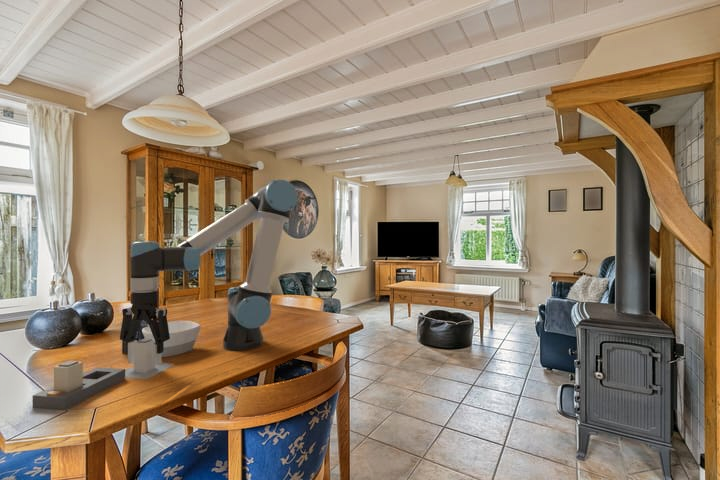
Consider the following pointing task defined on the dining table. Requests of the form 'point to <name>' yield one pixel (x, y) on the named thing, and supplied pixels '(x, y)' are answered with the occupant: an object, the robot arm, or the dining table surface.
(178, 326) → the bowl
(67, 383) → the twin plug
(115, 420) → the dining table surface
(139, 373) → the tray
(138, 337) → the box
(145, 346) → the plug
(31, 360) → the dining table surface
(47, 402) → the grey socket block
